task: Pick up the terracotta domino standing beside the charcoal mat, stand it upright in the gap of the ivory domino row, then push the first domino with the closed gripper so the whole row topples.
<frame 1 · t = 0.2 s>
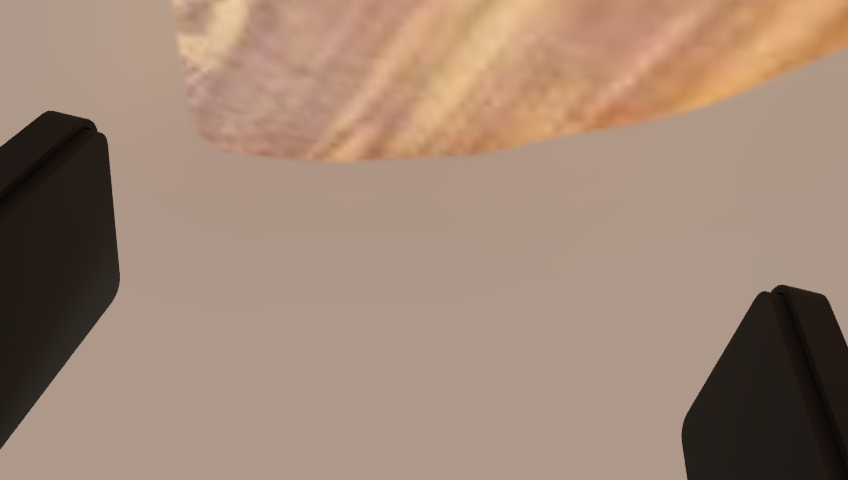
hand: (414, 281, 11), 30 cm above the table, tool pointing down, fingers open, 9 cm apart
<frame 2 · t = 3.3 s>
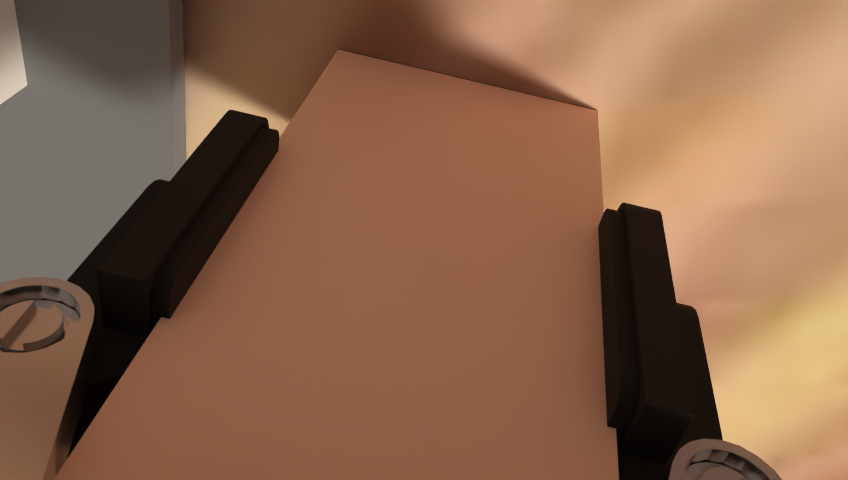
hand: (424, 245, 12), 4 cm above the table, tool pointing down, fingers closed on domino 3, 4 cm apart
domino 3: (456, 126, 15), on the table, touching gripper
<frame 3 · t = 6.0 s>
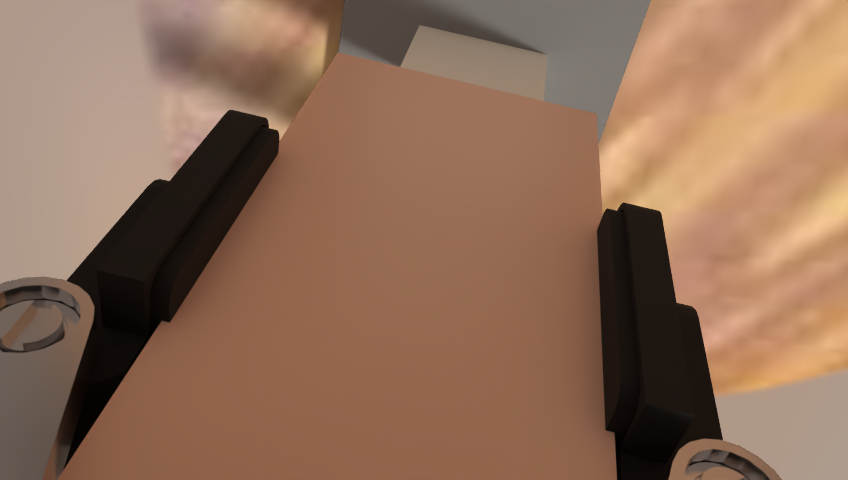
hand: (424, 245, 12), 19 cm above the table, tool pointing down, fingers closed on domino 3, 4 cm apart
domino 4: (477, 63, 29), point 1 cm above the table, touching mat
domino 3: (456, 129, 15), point 15 cm above the table, touching gripper
when the fingers open (6 cm above the table, at t = 8.7 s): domino 3 drops 1 cm, resting on mat.
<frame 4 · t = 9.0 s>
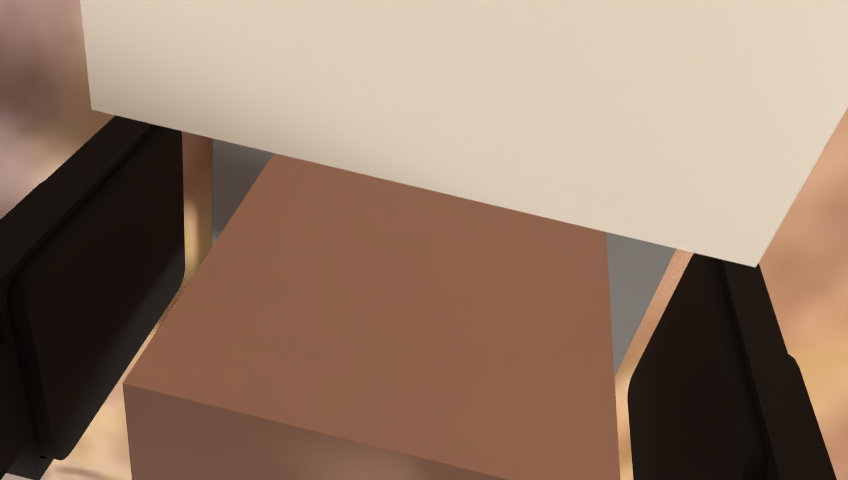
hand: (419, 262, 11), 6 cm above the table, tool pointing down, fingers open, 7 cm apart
mat: (478, 40, 16), on the table
domino 3: (467, 97, 16), point 1 cm above the table, touching mat
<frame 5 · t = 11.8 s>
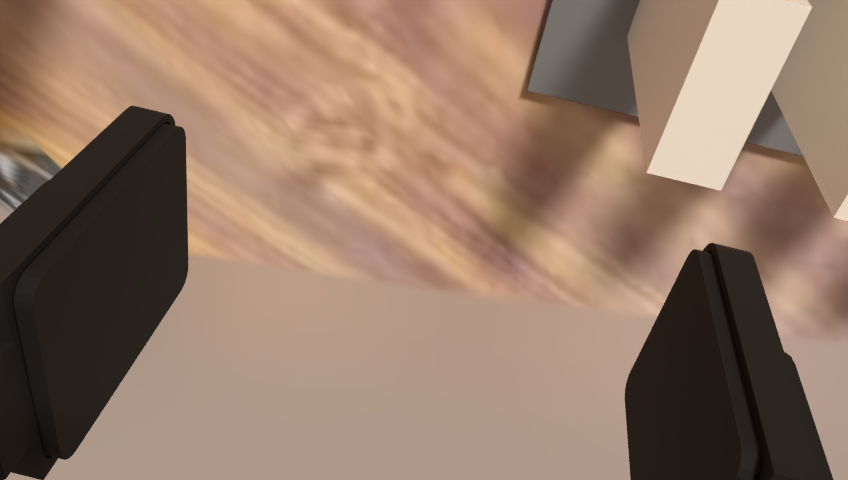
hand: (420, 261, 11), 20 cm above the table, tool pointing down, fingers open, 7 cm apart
domino 2: (819, 8, 26), point 1 cm above the table, touching mat
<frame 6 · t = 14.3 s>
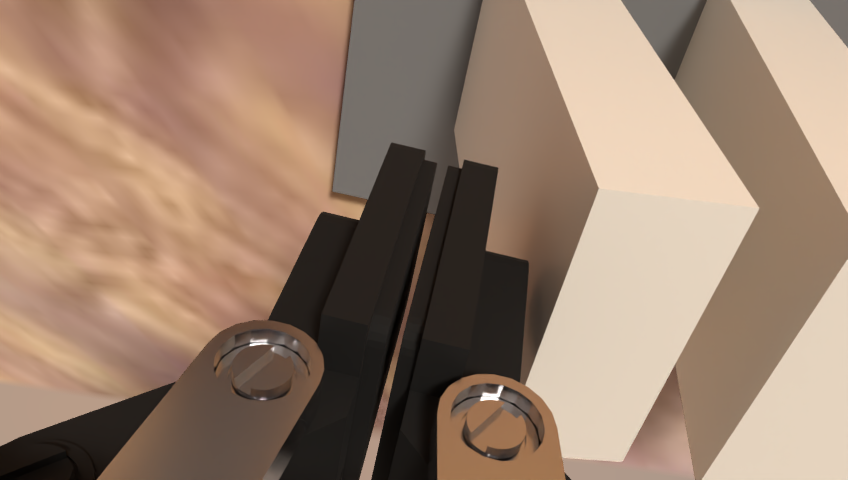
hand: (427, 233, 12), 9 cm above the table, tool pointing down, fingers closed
domino 1: (514, 45, 18), point 1 cm above the table, tilted 11°, touching mat
domino 2: (715, 86, 18), point 1 cm above the table, touching mat
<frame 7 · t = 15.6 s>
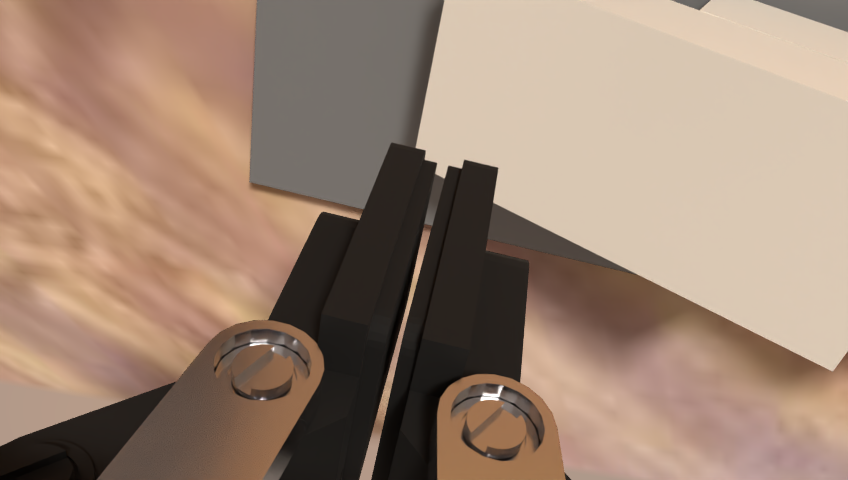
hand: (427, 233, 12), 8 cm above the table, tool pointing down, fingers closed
mat: (779, 106, 18), on the table
domino 1: (454, 55, 17), point 2 cm above the table, tilted 67°, touching domino 2, mat
domino 2: (667, 105, 17), point 2 cm above the table, tilted 68°, touching domino 1, domino 3, mat
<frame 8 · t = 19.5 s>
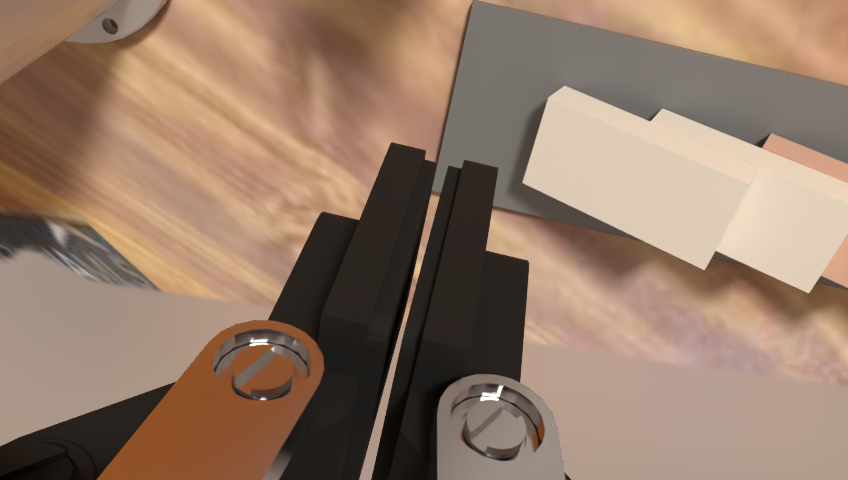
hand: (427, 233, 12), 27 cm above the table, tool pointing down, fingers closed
mat: (691, 156, 40), on the table
domino 3: (745, 181, 39), point 2 cm above the table, tilted 66°, touching domino 2, domino 4, mat
domino 1: (543, 135, 39), point 2 cm above the table, tilted 67°, touching domino 2, mat
domino 2: (639, 157, 39), point 2 cm above the table, tilted 68°, touching domino 1, domino 3, mat
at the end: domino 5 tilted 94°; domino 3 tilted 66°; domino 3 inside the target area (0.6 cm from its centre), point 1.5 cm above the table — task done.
